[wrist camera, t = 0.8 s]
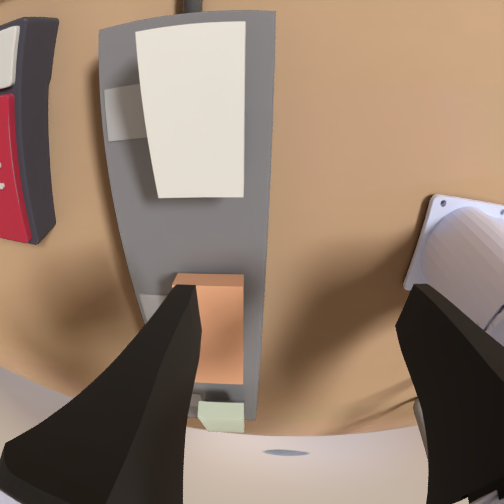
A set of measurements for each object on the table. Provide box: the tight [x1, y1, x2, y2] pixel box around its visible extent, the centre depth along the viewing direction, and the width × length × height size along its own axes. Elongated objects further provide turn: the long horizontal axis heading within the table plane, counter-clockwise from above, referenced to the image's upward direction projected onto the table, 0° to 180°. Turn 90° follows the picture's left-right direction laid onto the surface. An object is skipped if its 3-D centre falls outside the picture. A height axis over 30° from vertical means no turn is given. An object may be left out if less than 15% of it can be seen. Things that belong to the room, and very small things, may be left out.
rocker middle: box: [172, 273, 244, 384], centre depth 16 cm, size 4×7×1 cm, turn 179°
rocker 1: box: [135, 21, 246, 198], centre depth 10 cm, size 4×7×1 cm, turn 179°
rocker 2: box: [198, 401, 244, 433], centre depth 23 cm, size 4×7×1 cm, turn 179°
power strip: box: [99, 0, 276, 420], centre depth 16 cm, size 8×43×4 cm, turn 179°
